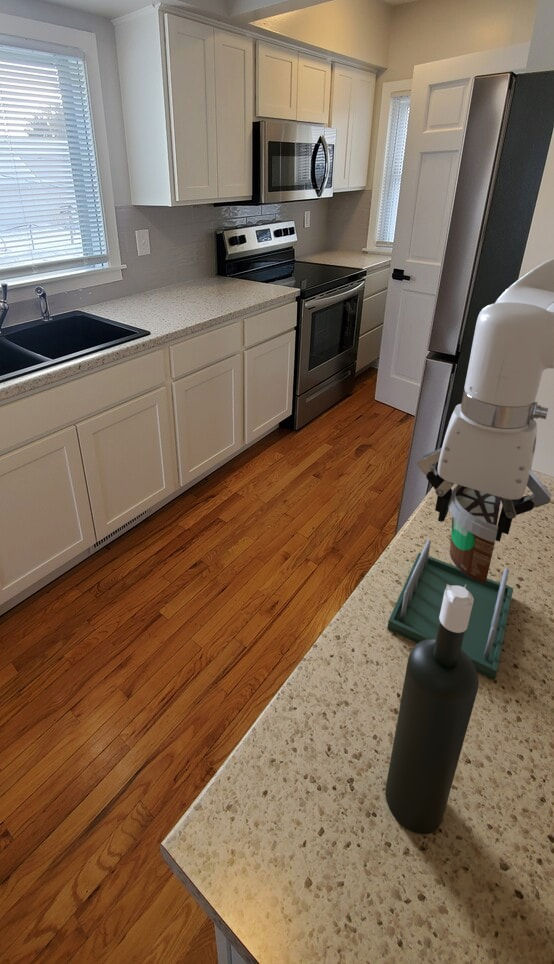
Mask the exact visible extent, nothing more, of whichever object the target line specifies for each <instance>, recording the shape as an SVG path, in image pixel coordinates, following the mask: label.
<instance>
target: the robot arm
mask: <svg viewBox="0 0 554 964" xmlns="http://www.w3.org/2000/svg"><path fill="white" fill-rule="evenodd" d="M474 328H475V329H474V334H473V339H472V344H471V349H470V350H471V351H470V354H469V361H468V365H467V366H468V367H467V372H466V377H465V382H464V388H463V393H462V398H461V403H459V404H457V405H455V407H454V410H453V412H452V413H451V416H450V419H449V421H448V425H447V427H446V431H445V435H444V439H443V442H442V446H441V447H440V448H437V449H436V450H433V451H431V452H429V453H427V454H426V453H425V455H424V454H423V455H422V456H420V457H419V458H418V460H417V462H416V466H417V467H418V468H419V470H420V471H421V472H422V473H423V474H424V475H425V476H426V477H425V478H426V480H427V481H428V482H429V483H430V485H431V486H432V488H433V489H434V490H435V491H434V493H435V495H436V496H437V497H436V503H435V507H434V508H435V509H434V511H435V512H438V519H437V521H438V522H440V523H443V522H444V523H445V520H446V518H447V516H448V513H449V508H448V501H449V498H450V496H451V494H452V492H453V489H452V487H453V486H455V485H461V486H464V487H467V488H471V489H474V490H478V491H481V492H484V493H488V494H491V495H495V496H498V497H500V498H501V509H500V512H499V513H500V514H499V516H498V521H497V526H498V530H497V535H496V540H495V542H501V539H502V535H503V534H504V535H509V534H510V530H511V526H512V522H513V519H515V518H516V517H517V516H518V515H522V514H524V513H527V512H530V511H532V510H534V509H535V508H540V507H541V506H546V505H548V504H550V503H551V502H552V493H551V492H550V491H549V490H548V487H546V486H545V484H544V483H543V482H542V481H541V480H540V478H538V475H536V474H535V473H534V471H533V470H532V467H533V461H534V455H535V451H536V445H537V437H538V435H537V433H538V431H537V430H538V428H537V427H538V424H537V421H536V420H535V419H537V420H538V419H542V420H547V415H548V411H549V408H548V407H544V406H542V405H540V404H538V403H539V402H537V401H536V399H537V396H538V392H539V388H540V383H541V380H542V375H543V372H544V371H545V370H548V369H554V257H553V258H550V259H548V260H546V261H544V262H542V263H541V264H539V265H538V266H537V265H536V267H534V268H532V269H531V270H530V271H529V272H527V273H526V274H524V275H523V276H522V277H520V278H519V279H517V280H516V281H515V282H514V283H512V284H511V285H510V286H509V287H508V288H506V289H505V291H503V292H502V293H501V295H500V296H499V297H498V298H497V299H496V300H495V302H494V303H491V304H488V305H486V306H485V307H483V308H482V309H481V310H480V311H479V314H478V316H477V319H476V323H475V327H474ZM435 464H437V468H436V467H435V466H434V465H435ZM526 489H528V490H529V491H530V492H531V493H532V494H529V495H527V494H526V495H524V494H525V492H526Z"/></svg>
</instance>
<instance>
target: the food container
mask: <svg viewBox="0 0 554 964" xmlns="http://www.w3.org/2000/svg"><path fill="white" fill-rule="evenodd" d="M501 505H502V502H501V498H500V497H498V496H495V495H491V494H488V493H484V492H481V491H478V490H474V489H471V488H467V487H464V486H461V485H458V484H456V486H455V487H454V488H453V489H452V494H451V496H450V498H449V501H448V508H449V510H448V512H449V514H450V515H451V530H450V542H449V543H450V544H449V556H450V558H451V561H452V563H453V564H454V566H456V567H457V568H459V569H460V570H461V571H462V572H463V573H464V574H466V575H467V576H469V577H471V578H472V579H474V580H476V581H478V582H481V583H484V584H486V580H487V578H488V576H489V570H490V565H491V562H492V556H493V553H494V549H495V544H496V535H497V530H498V526H497V525H498V521H499V516H500V514H499V513H500V512H501V509H500V508H501Z"/></svg>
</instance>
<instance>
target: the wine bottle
mask: <svg viewBox="0 0 554 964" xmlns="http://www.w3.org/2000/svg"><path fill="white" fill-rule="evenodd" d="M473 601H474V599H473V596H472V594H471V593H470V592H469V591H468V590H466V585H465V586H464V587H462V586H450V585H448V584H447V586H446V589H445V592H444V597H443V602H442V607H441V612H440V616H439V619H440V623H439V628H438V633H437V637H436V638H432V639H426V640H423V641H421V642H419V643H418V644H417V643H415V645H414V646H413V647H412V649H411V650H410V652H409V653H408V654H409V655H408V656H407V657H408V659H407V663H406V667H405V674H404V681H403V685H402V691H401V697H400V703H399V708H398V715H397V720H396V726H395V731H394V738H393V742H392V749H391V755H390V761H389V766H388V771H387V776H386V783H385V790H384V791H385V792H384V793H385V800H386V804H387V806H388V809H389V811H390V812H391V814H392V816H393V817H394V819H395V820H396V821H397V822H398V824H400V826H402V827H403V828H405V829H406V830H408V831H409V832H412V833H415V834H417V835H429V834H432V833H434V832H436V830H438V829H439V828H440V826H441V825H442V822H443V820H444V816H445V811H446V808H447V804H448V801H449V797H450V793H451V789H452V785H453V782H454V780H455V775H456V771H457V767H458V764H459V760H460V757H461V753H462V749H463V746H464V742H465V738H466V735H467V731H468V727H469V724H470V719H471V717H472V713H473V709H474V705H475V701H476V698H477V694H478V691H479V686H480V685H479V684H480V683H479V682H480V681H479V674H478V672H477V671H476V668H475V666H474V664H473V662H472V660H471V659H470V658H469V656H468V655H467V654H466V653H465V652H464V651H463V650H462V649H461V646H462V642H463V637H464V633H465V630H466V629H467V626H468V622H469V618H470V614H471V610H472V606H473Z"/></svg>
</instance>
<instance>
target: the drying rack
mask: <svg viewBox="0 0 554 964" xmlns="http://www.w3.org/2000/svg"><path fill="white" fill-rule="evenodd" d="M431 543H432V541H431V540H430V539H427V540H426V542H425V544H424V547H423V548H422V551H421V552H418V554H417V556H416V557H415V560H414V562H413V565H412V567H411V569H410V571H409V573H408V576H407V578H406V581H405V583H404V585H403V587H402V589H401V591H400V593H399V595H398V598H397V601H396V603H395V605H394V607H393V609H392V612H391V614H390V615H389V618H388V621H387V627H386V629H387V630H388V631H390V632H392V633H394V634H396V635H398V636H401V637H403V638H405V639H407V640H409V641H410V642H413V643H415V644H418V643H419V642H421V641H423V640H426V639H432V638H436V637H437V633H438V628H439V623H440V619H439V616H440V612H441V607H442V602H443V597H444V592H445V589H446V586H447V584H448V585H450V586H462V587H464V586H465V585H466V590H468V591H469V592H470V593H471V594H472V596H473V599H474V601H473V606H472V610H471V614H470V618H469V622H468V626H467V629H466V630H465V633H464V637H463V642H462V646H461V649H462V650H463V651H464V652H465V653H466V654H467V655H468V656H469V658H470V659H471V660H472V662H473V664H474V666H475V668H476V671H477V674H478V673H479V674H480V675H482V676H484V677H486V678H489V679H491V680H493V681H495V680H496V678H497V673H498V670H499V664H500V660H501V655H502V650H503V645H504V640H505V633H506V628H507V624H508V618H509V614H510V609H511V608H510V607H511V604H512V603H511V602H512V598H513V592H514V587H512V586H509V585H507V582H508V577H509V573H510V570H509V568H508V567H505V568H503V572H502V576H501V580H500V582H498V581H496V580H493V579H490V578H488V577H487V580H486V584H484V583H481V582H478V581H476V580H474V579H472V578H471V577H469V576H467V575H466V574H464V573H463V572H462V571H461V570H460V569H459V568H457V566H456V565H453V564H451V563H448V562H445V561H442V560H440V559H438V558H436V557H432V556H430V555H429V554H430V549H431Z"/></svg>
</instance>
